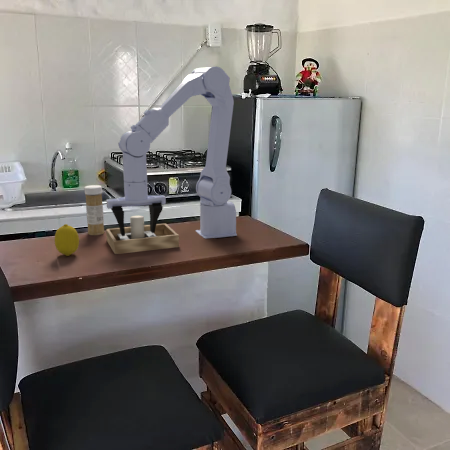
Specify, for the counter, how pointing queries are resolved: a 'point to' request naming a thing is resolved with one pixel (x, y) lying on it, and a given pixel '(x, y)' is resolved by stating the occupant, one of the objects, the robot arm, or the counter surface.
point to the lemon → (66, 240)
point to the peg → (137, 227)
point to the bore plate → (128, 235)
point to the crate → (143, 240)
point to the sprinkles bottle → (94, 209)
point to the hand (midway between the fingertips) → (137, 233)
